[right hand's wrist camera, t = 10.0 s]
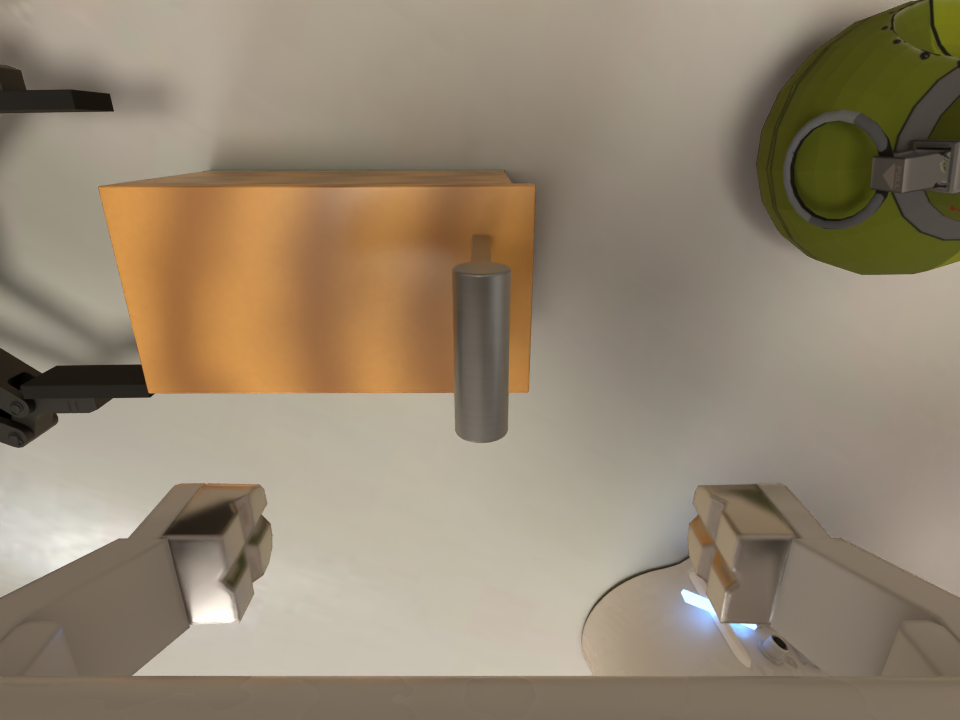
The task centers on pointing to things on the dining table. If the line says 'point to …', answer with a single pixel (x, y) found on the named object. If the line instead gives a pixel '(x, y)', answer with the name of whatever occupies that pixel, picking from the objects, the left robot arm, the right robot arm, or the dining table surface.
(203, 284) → the lid
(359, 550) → the dining table surface
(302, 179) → the chest
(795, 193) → the grenade
